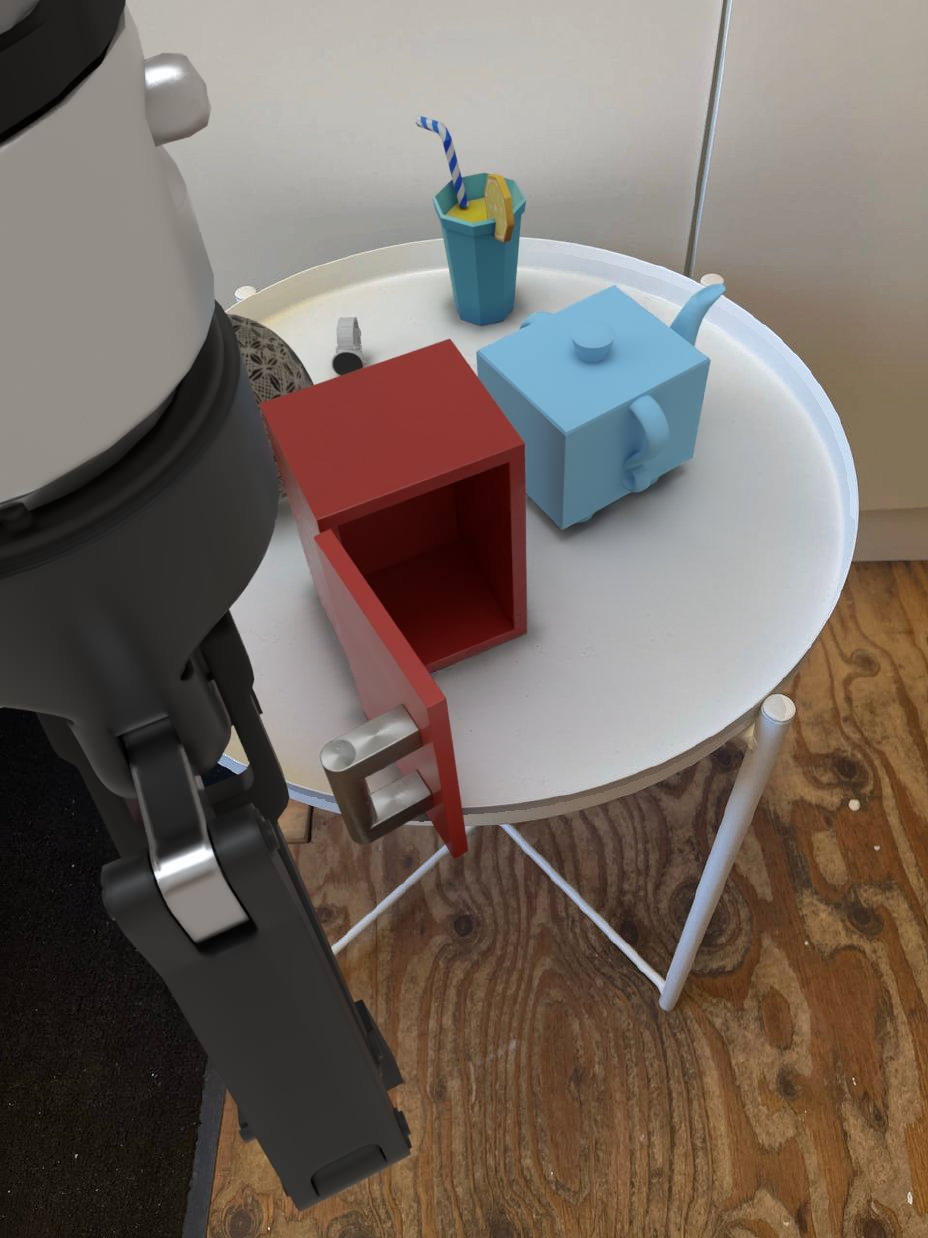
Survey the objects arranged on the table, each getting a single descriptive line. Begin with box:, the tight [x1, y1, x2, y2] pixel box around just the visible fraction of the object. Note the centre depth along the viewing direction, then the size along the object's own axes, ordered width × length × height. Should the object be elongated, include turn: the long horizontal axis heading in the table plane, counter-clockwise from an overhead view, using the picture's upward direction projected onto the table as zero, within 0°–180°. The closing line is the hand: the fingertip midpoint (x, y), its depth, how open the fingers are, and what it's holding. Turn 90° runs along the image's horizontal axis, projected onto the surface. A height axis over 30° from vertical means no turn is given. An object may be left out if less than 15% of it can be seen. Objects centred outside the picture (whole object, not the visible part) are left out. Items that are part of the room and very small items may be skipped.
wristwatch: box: [331, 316, 368, 376], centre depth 82 cm, size 3×5×5 cm, turn 1°
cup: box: [415, 115, 527, 327], centre depth 82 cm, size 14×8×15 cm, turn 37°
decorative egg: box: [226, 313, 315, 502], centre depth 70 cm, size 12×12×15 cm
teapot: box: [475, 283, 726, 531], centre depth 71 cm, size 18×16×13 cm
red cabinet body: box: [259, 338, 528, 674], centre depth 61 cm, size 10×12×18 cm
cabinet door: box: [314, 529, 469, 860], centre depth 53 cm, size 6×12×18 cm, turn 30°
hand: (282, 884), depth 31 cm, fingers open, 13 cm apart
